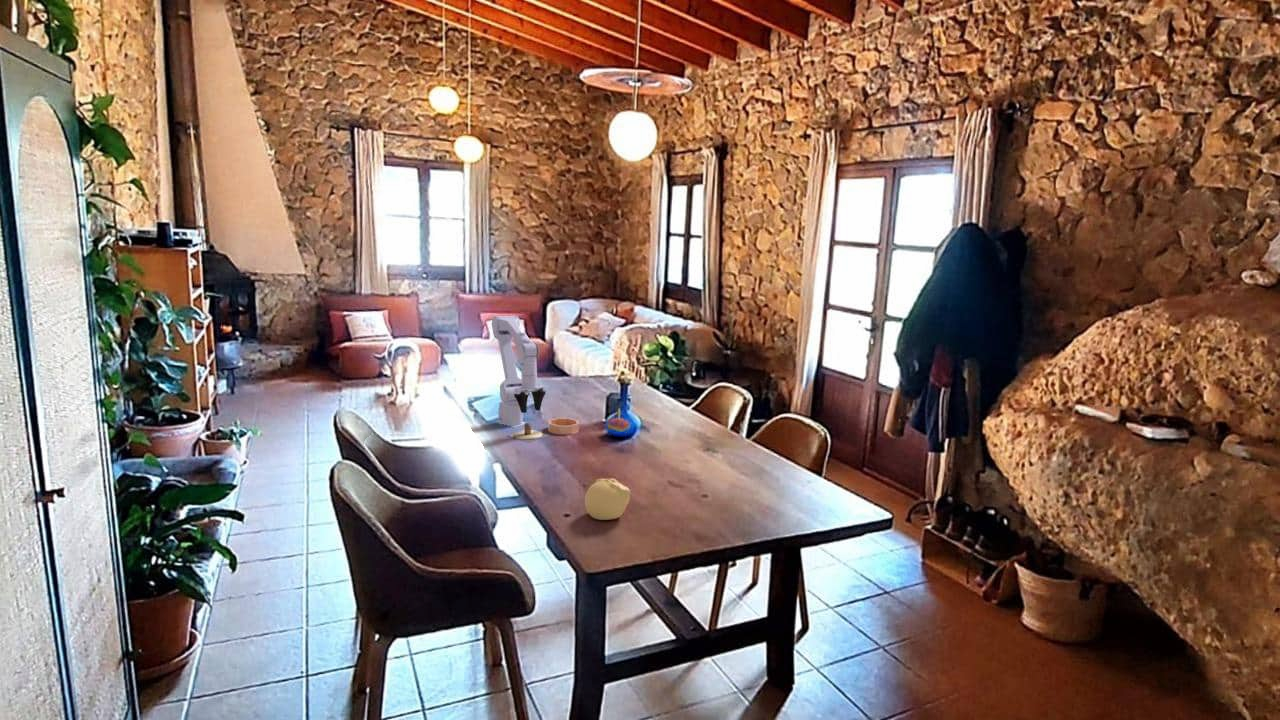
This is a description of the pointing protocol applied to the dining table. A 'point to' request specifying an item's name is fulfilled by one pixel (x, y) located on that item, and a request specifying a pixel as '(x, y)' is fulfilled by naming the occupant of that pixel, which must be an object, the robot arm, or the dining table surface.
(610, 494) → the butter
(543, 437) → the mat
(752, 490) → the dining table surface
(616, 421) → the cupcake
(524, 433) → the lid
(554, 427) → the octagonal bowl
